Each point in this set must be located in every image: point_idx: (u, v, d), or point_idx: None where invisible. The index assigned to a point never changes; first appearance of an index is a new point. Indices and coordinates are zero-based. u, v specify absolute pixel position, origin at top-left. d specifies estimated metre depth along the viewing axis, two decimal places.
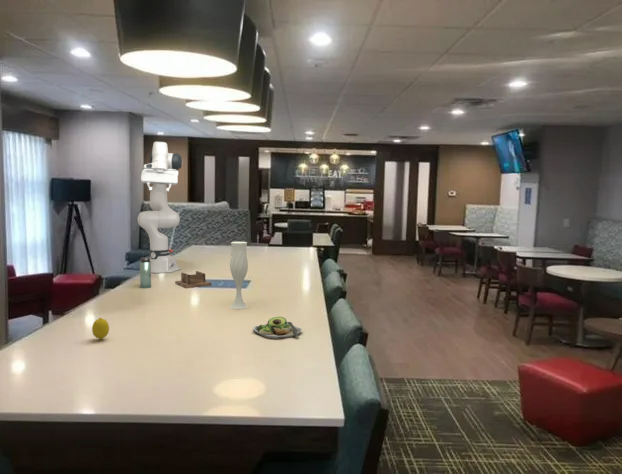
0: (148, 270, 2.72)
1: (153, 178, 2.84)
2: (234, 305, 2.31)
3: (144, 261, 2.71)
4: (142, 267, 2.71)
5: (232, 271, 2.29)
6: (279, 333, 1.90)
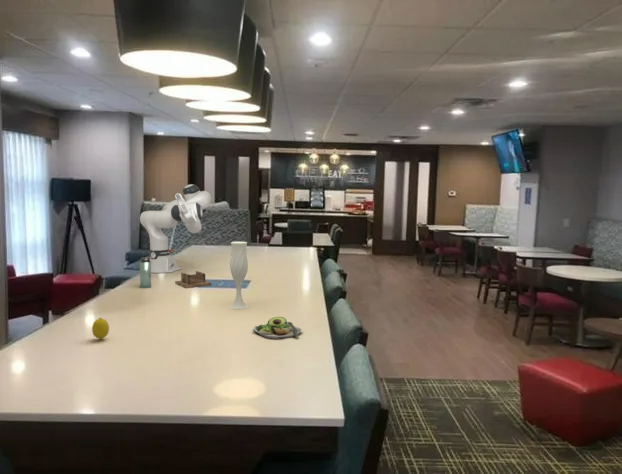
0: (148, 270, 2.72)
1: None
2: (234, 305, 2.31)
3: (144, 261, 2.71)
4: (142, 267, 2.71)
5: (232, 271, 2.29)
6: (279, 333, 1.90)
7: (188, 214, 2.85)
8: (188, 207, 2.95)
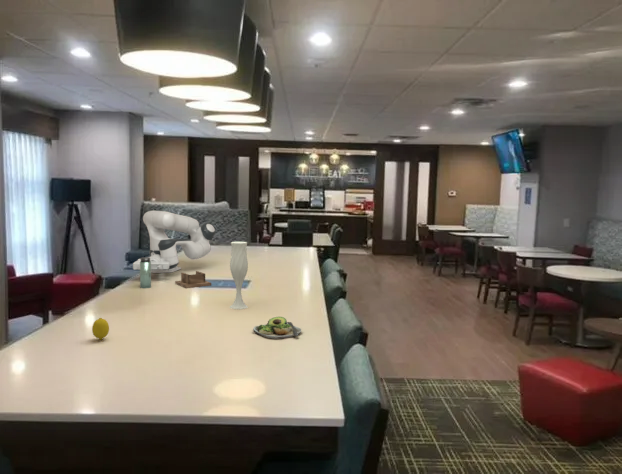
0: (148, 270, 2.72)
1: None
2: (234, 305, 2.31)
3: (144, 261, 2.71)
4: (142, 267, 2.71)
5: (232, 271, 2.29)
6: (279, 333, 1.90)
7: (135, 267, 2.89)
8: (155, 268, 2.96)
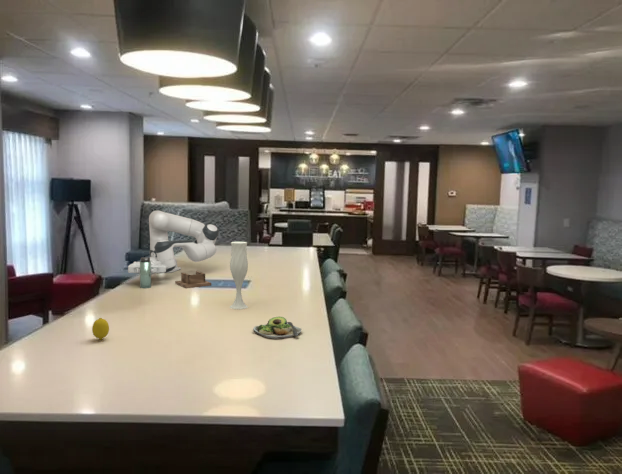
0: (148, 270, 2.72)
1: None
2: (234, 305, 2.31)
3: (144, 261, 2.71)
4: (142, 267, 2.71)
5: (232, 271, 2.29)
6: (279, 333, 1.90)
7: (130, 270, 2.76)
8: None
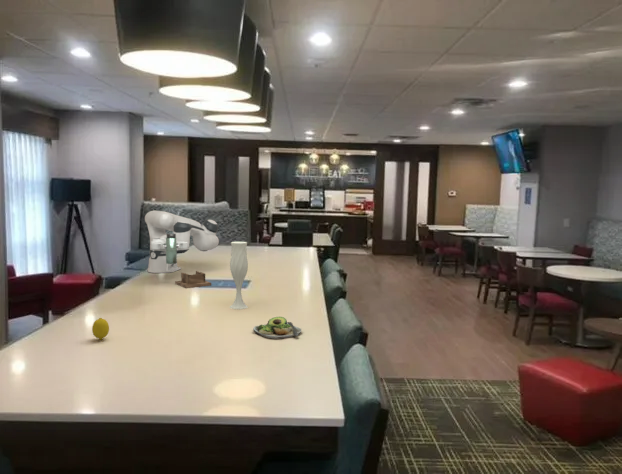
0: (175, 245, 2.75)
1: (163, 242, 2.80)
2: (234, 305, 2.31)
3: (171, 237, 2.73)
4: (169, 243, 2.73)
5: (232, 271, 2.29)
6: (279, 333, 1.90)
7: (154, 247, 2.76)
8: None
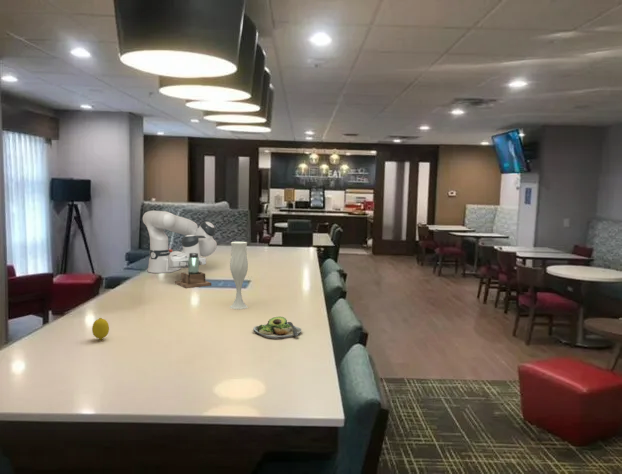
0: (198, 265, 2.83)
1: (183, 259, 2.86)
2: (234, 305, 2.31)
3: (195, 256, 2.81)
4: (193, 262, 2.80)
5: (232, 271, 2.29)
6: (279, 333, 1.90)
7: (176, 264, 2.81)
8: None
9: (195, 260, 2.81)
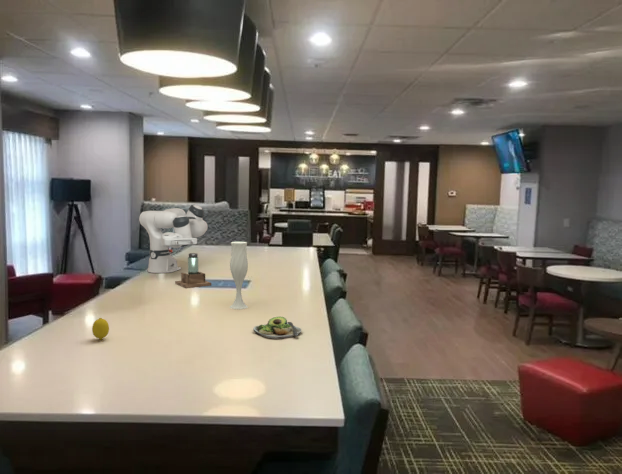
0: (197, 265, 2.83)
1: (174, 238, 2.95)
2: (234, 305, 2.31)
3: (194, 256, 2.81)
4: (193, 262, 2.80)
5: (232, 271, 2.29)
6: (279, 333, 1.90)
7: (167, 243, 2.90)
8: (180, 244, 3.01)
9: (194, 260, 2.80)
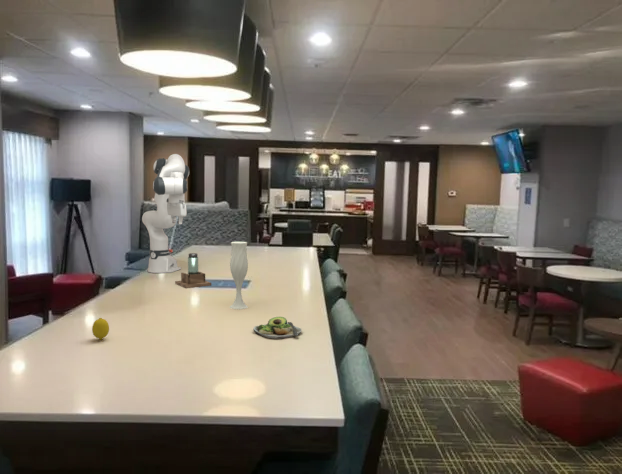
0: (197, 265, 2.83)
1: (171, 211, 2.96)
2: (234, 305, 2.31)
3: (194, 256, 2.81)
4: (193, 262, 2.80)
5: (232, 271, 2.29)
6: (279, 333, 1.90)
7: None
8: None
9: (194, 260, 2.80)
